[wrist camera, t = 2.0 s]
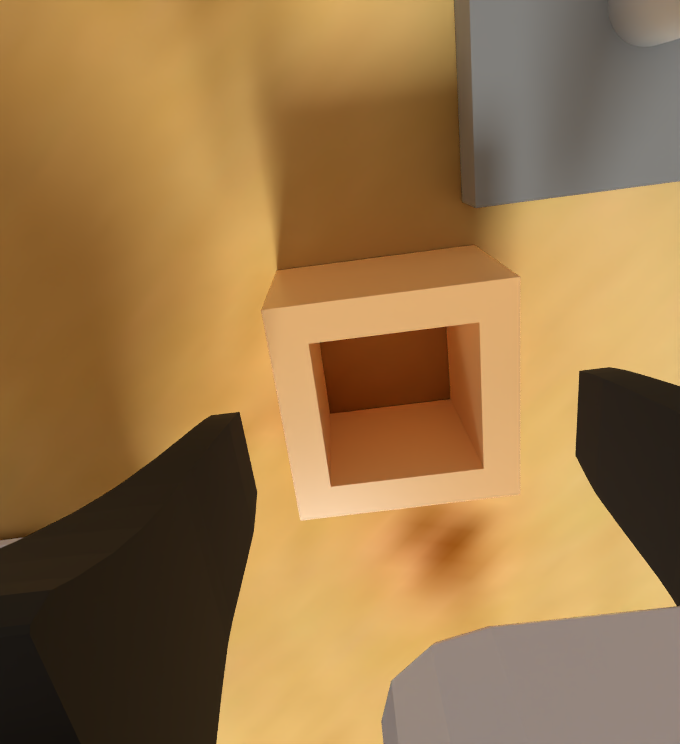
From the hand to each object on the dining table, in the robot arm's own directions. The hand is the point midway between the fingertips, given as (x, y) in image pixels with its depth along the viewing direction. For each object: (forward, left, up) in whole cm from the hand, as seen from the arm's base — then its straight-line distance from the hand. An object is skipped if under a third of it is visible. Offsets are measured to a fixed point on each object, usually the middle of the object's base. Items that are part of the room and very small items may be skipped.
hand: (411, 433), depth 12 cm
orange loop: (0, 0, -5) cm, 5 cm away
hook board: (+10, -8, -5) cm, 14 cm away
